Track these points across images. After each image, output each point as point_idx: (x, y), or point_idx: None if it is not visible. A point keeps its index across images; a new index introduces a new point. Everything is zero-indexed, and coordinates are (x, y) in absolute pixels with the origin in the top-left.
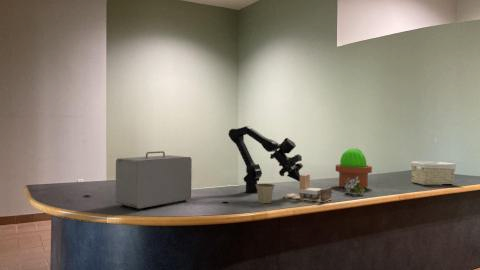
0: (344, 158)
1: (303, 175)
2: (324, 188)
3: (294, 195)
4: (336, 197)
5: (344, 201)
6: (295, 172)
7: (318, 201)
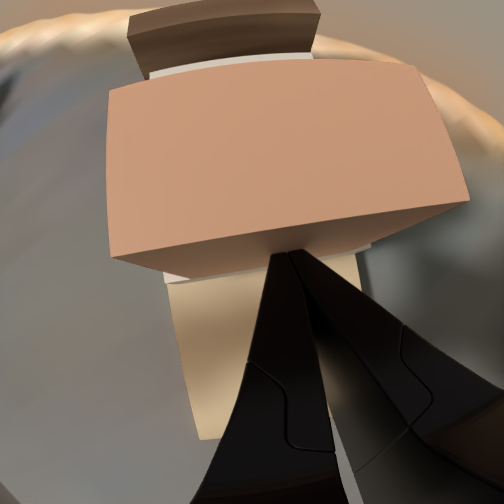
0: None
1: (421, 106)
2: (238, 11)
3: None
4: (50, 118)
5: None
6: (495, 394)
7: None
